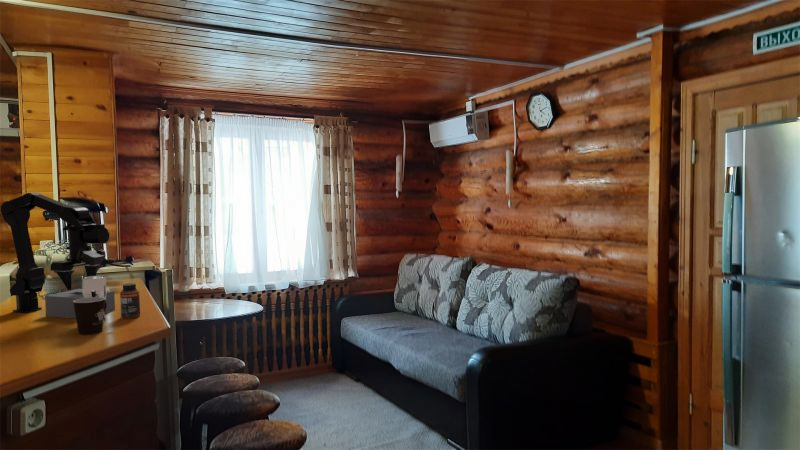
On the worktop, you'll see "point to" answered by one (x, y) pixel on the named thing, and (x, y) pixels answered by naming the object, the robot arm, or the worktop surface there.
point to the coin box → (71, 303)
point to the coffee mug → (90, 314)
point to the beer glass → (94, 288)
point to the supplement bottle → (130, 301)
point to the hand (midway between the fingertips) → (80, 287)
